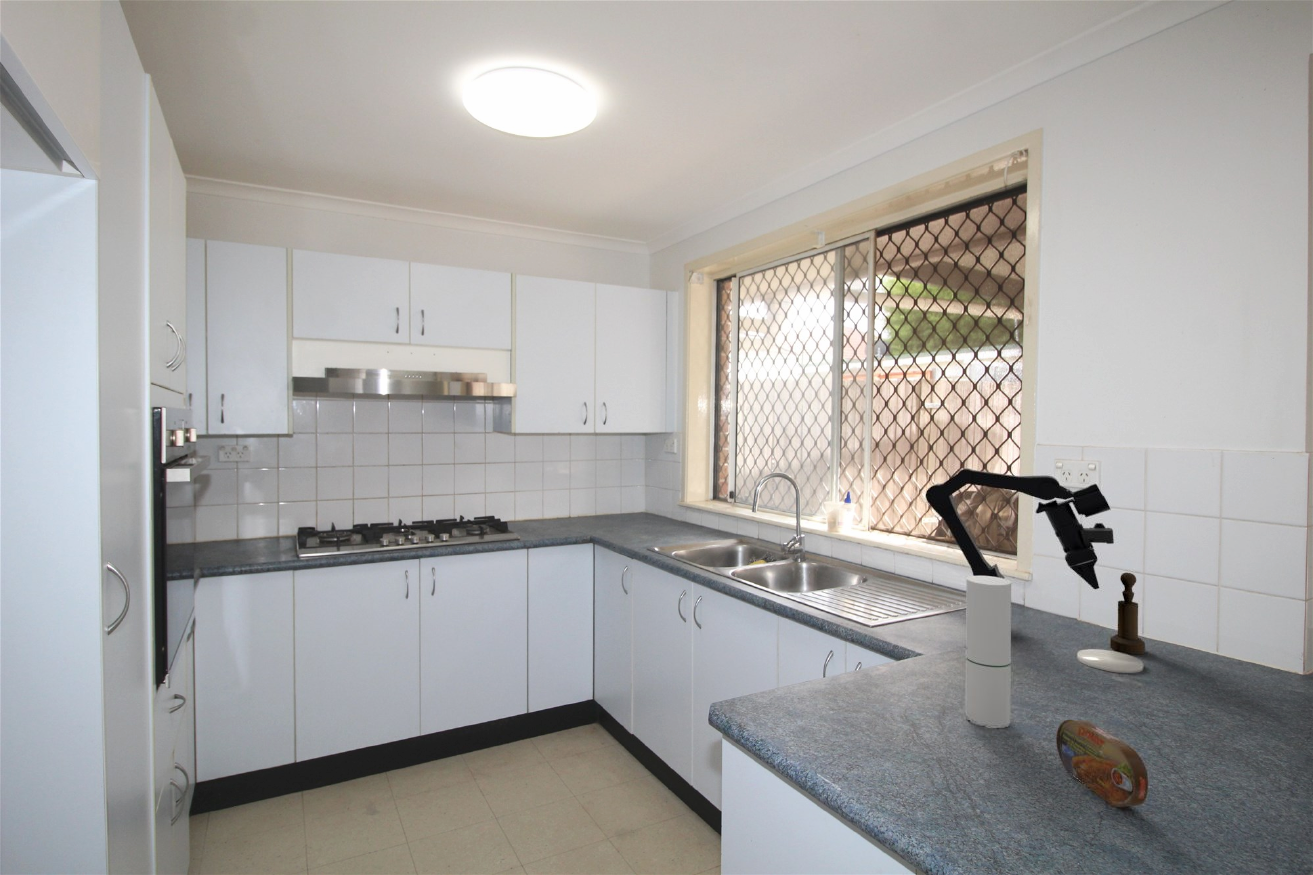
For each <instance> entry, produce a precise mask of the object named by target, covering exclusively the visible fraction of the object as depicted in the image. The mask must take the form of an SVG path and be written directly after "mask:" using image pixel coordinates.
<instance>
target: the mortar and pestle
mask: <svg viewBox="0 0 1313 875" xmlns="http://www.w3.org/2000/svg"><path fill="white" fill-rule="evenodd" d="M1120 582H1121V584H1122V586H1123V587H1124V590H1123V591H1122V592H1121V593H1122V598H1123V600H1118V601H1117V634H1114V635H1113V636H1111V637H1110V641H1109V642H1110V644H1109V646H1110V649H1111V650H1112V651H1115V652H1119V653H1123V654H1127V655H1129V654H1130V655H1143V654H1145V653H1146V643H1145V641H1143V639H1142V638H1140V637H1139V603H1138V602H1135V601H1133V599H1134V597H1135V592H1133V587H1134V586H1135V584H1136V583H1137V577H1136V575H1135V574H1134V573H1132V572H1131V573H1130V572H1123V573H1122V574H1121V575H1120Z"/></svg>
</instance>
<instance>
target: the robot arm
mask: <svg viewBox="0 0 1313 875" xmlns="http://www.w3.org/2000/svg"><path fill="white" fill-rule="evenodd" d="M957 472H958V473H956V474H954V475H953V476H952V477H950V478H948V479H947V480H945V482H943V483H935V484H933V485H932V486H930V487H928V488H927V490H926V492H925V499H926V501H927V503H928V504H929V505H930V506H931V508H932V509H933V510H934V512H935V513H936V514H937V515H938V516H940V517H941V519H942V520H943V521H944V523H945V524H946V526H947V528H948V530H949V531H950V534H952V537H953V538H954V540H955V542H956V544H957V546H958V547H959V549H960V551H961V553H962V554H963V556H964V558H965V560H966V561H967V563H968V565H969V567H970V569H971V572H972V576H992V577H999V578H1003V579H1006V577H1005V576H1004V575H1003V574H1002V573H1001V572H1000V569H999V567H998V564H997V563H995V564H993V565H991V564H990V563H989V562H988V561H987V560H986V559H985V557H984V555H983V553H982V552H981V550H980V548H979V546H978V545H977V544H976V541H975V539H974V538H973V536H972V534H971V532H970V531H969V529H968V527H967V526H966V523H965V522H964V520H963V519H962V517H961V515H960V514H959V511H958V507H957V504H956V500H955V498H954V494H955V493H956V492H957V491H959V490H961V489H962V488H963V487H965V486H967V485H974V486H981V487H988V488H994V489H1001V490H1007V491H1013V492H1019V493H1022V494H1025V495H1027V496H1030V497H1032V498H1037V499H1040V500H1043V501H1048V502H1045V503H1043V502H1041V501H1039V502H1038V505H1037V508H1036V509H1035V514H1037V515H1038V514H1041V513H1045V515H1046V517H1047V519H1048V521H1049V523H1050V525H1051V527H1052V530H1053V531H1054V535H1055V536H1056V537H1057V539H1058V541H1059V543H1060V545H1061V546H1062V551H1063V552H1064V554H1065V555H1064V561H1065V562H1066V564H1067V566H1068V567H1069V568H1070V569H1071V570H1073V572H1075V573H1076V574H1077V575H1078V576H1079V577H1080V578H1082V580H1084V582H1086V583H1087V584H1088V585H1089V586H1090V587H1091V588H1092V589H1093V590H1099V589H1100V584H1099V582H1098V581H1099V580H1098V578H1097V575H1096V570H1095V566H1096V564H1097V562H1098V560H1099V559H1098V557H1097V554H1096V552H1095V548H1094V546H1093V543H1095V544H1100V543H1101V544H1107V545H1113V544H1114V543H1115V542H1114V541H1115V540H1114V529H1113V528H1111V527H1106V526H1105V525H1104V523H1102V522H1095V524H1094V526H1092V527H1084V526H1083V524H1082V523H1080V522H1079V520H1078V518H1077V516H1076V513H1077V514H1078V516H1080V515H1081V516H1084V517H1085V518H1088V517H1091V516H1094V515H1097V514H1101V513H1104V512H1108V511H1111V507H1110V505H1109V503H1108V501H1107V498H1106V497H1105V495H1104V494H1103V493H1102V492H1101V490H1100V488H1099V486H1098V484H1096V483H1094V484H1089V486H1086V487H1084V488H1081V489H1079V490H1075V491H1073V490H1071V489H1070V488H1067V487H1065V486H1062V485H1060V482H1059V481H1058V479H1057V478H1055V477H1053V476H1051V475H1024V476H1023V475H1022V476H1020V475H1012V474H1007V473H998V472H989V471H982V470H975V469H971V468H962V469H961V470H959V471H957ZM1057 499H1059V500H1060V499H1061V500H1065V501H1059V502H1058V501H1057ZM1071 503H1072V505H1073V507H1074V508H1075V512H1076V513H1075V512H1074V510H1073V508H1072V505H1071Z"/></svg>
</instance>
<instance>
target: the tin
mask: <svg viewBox="0 0 1313 875" xmlns="http://www.w3.org/2000/svg"><path fill="white" fill-rule="evenodd" d="M1055 738H1056V739H1055V740H1056V748H1057V749H1056V750H1057V753H1058V756H1059V759H1060V762H1061V764H1062V766H1063V767H1064V769H1065V771H1066V772H1067V771H1068V772H1067V773H1068V774H1069V773H1071V774H1072V775H1074V776H1075V777H1076V778H1078V780H1080V781H1081V782H1083V784H1085V785H1086V786H1088V787H1089V788H1090V789H1091V790H1090V789H1089V788H1088V789H1089V790H1090V791H1092V790H1093V791H1094V792H1096V793H1095V794H1096V795H1097V794H1098V795H1099V796H1098V795H1097V796H1098V797H1100V796H1101V797H1102V798H1103V800H1104V799H1105V800H1106V801H1107V803H1108V804H1109V803H1110V805H1111V806H1113V807H1117V808H1125V807H1137V806H1138V807H1139V806H1140V805H1141V804H1143V803H1144V802H1145V801H1146V799H1147V796H1148V791H1149V779H1148V778H1149V777H1148V776H1149V774H1148V771H1147V768H1146V765H1145V763H1144V762H1143V759H1142V758H1141V757H1140V755H1139V753H1137V751H1136V750H1135V749H1134V748H1133V747H1131V746H1130V745H1129V744H1128V743H1125V742H1124V741H1122V740H1120V739H1118V738H1117V737H1115V736H1113V735H1111V733H1108V732H1107V731H1105V730H1104V729H1101V728H1100V727H1099V726H1096V725H1095V724H1094V723H1091V722H1089V721H1086V720H1075V719H1066V720H1064V721H1062V722H1061V723H1060V724H1059V726H1058V728H1057V732H1056V737H1055ZM1078 780H1077V781H1078ZM1081 782H1080V783H1081ZM1083 784H1082V785H1083ZM1085 785H1084V786H1085ZM1086 786H1085V787H1086ZM1093 791H1092V792H1093ZM1094 792H1093V793H1094ZM1101 797H1100V798H1101ZM1102 798H1101V799H1102ZM1105 800H1104V801H1105ZM1106 801H1105V802H1106Z"/></svg>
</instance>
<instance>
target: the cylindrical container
mask: <svg viewBox="0 0 1313 875" xmlns="http://www.w3.org/2000/svg"><path fill="white" fill-rule="evenodd" d="M965 582H966V589H965V591H966V593H965V594H966V595H965V596H966V597H965V598H966V600H965V619H966V620H965V699H964V701H965V712H964V713H966V715H967V716H968V717H969V718H970V719H973V720H974V721H978V722H979V723H985V724H988V725H998V726H1001V725H1007V724H1009V723H1010V724H1011V674H1012V673H1011V670H1012V669H1011V664H1012V663H1011V662H1012V661H1011V658H1012V656H1011V655H1012V653H1011V652H1012V635H1011V634H1012V581H1010V580H1008V579H1006V578H1004V579H1003V578H999V577H992V576H973V575H969V576H967V577H966V581H965Z"/></svg>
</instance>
